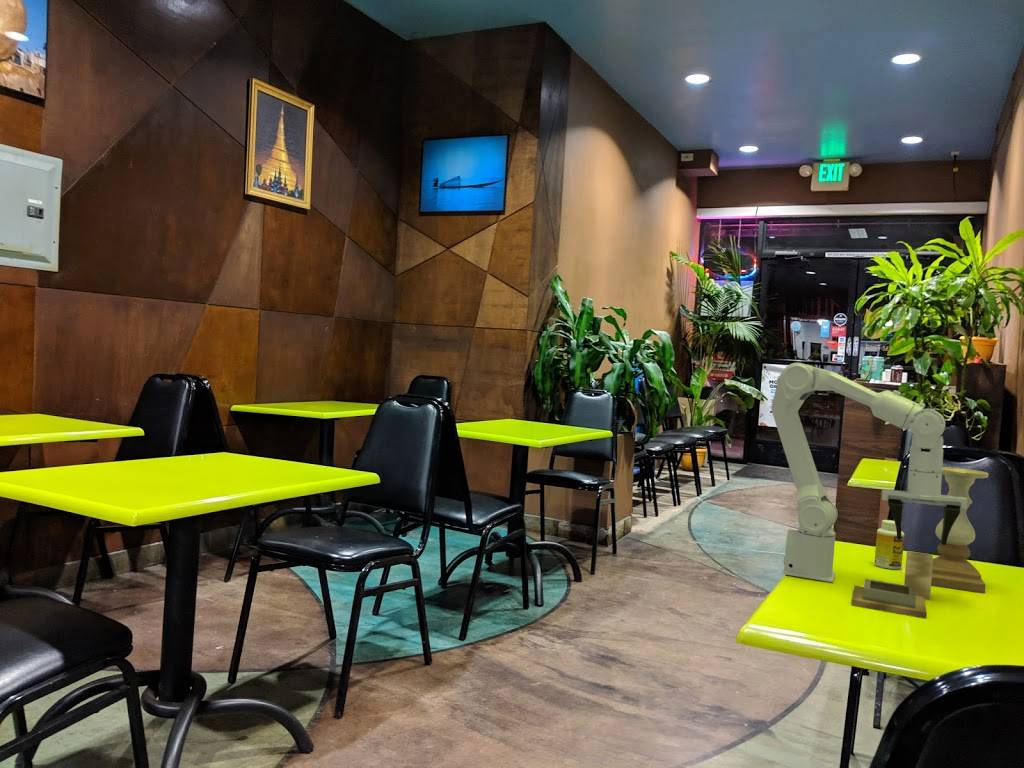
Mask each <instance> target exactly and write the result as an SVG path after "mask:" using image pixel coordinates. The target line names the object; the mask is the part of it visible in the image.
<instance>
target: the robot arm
mask: <svg viewBox="0 0 1024 768" xmlns="http://www.w3.org/2000/svg"><path fill="white" fill-rule="evenodd" d="M815 391H820V392H823V391H824V392H825V391H827V392H828V391H829V392H830V391H833V392H835V393H837V394H840V395H842V396H845V397H847V398H849V399H851V400H853V401H856V402H858V403H861V404H863V405H865V406H868V407H869V408H870V409H871V413H872V415H873V417H875V418H878V419H880V420H882V421H884V422H886V423H889V424H891V425H893V426H894V427H898V428H900V429H902V430H904V431H905V430H910V432H911V433H912V437H911V445H910V447H909V459H908V475H907V476H908V479H907V490H894V489H892V490H891V489H882V491H881V493H882V495H881V500H882V501H887V505H888V508H889V509H890V512H891V515H892V518H893V521H895V525H896V530H897V539H900V540H901V531H902V514H903V503H912V504H921V505H930V506H942V507H943V517H942V519H943V530H942V536H941V540H940V544H942V545H946V542H947V538H948V535H949V532H950V530H951V528H952V526H953V524H954V522H955V520H956V519H957V517H958V516H959V514H960V508H963V509H967V510H968V508H967V498H964V497H956V496H948V495H947V494H942V481H943V480H942V479H943V474H942V467H943V464H944V462H943V461H944V449H943V445H944V436H943V433H944V431H945V429H946V420H945V418H944V416H943V415H942V414H941V413H940V412H939V411H937V410H935V409H933V408H925V407H926V404H925V403H924V402H920V401H919V403H917V402H916V401H913V400H911V399H908V398H906V397H905V396H901V394H902V393H901V392H900V391H898V390H893V391H891V390H883V391H881V392H876V391H874V390H872V389H870V388H868V387H866V386H864V385H861V384H859V383H857V382H856V381H853V380H852V379H849V378H847V377H845V376H843V375H842V374H841V375H840V374H838V373H836V372H834V371H831V370H827V369H825V368H820V367H815V366H813V365H811V364H805V363H804V362H803V363H802V362H793V363H790V364H788V365H787V366H785V368H783V370H782V372H781V373H779V375H778V376H777V379H776V387H775V391H774V395H773V399H772V402H771V407H770V408H771V414H772V416H773V420H774V423H775V426H776V428H777V432H778V435H779V438H780V441H781V444H782V448H783V451H784V454H785V458H786V460H787V464H788V467H789V470H790V472H791V475H792V478H793V482H794V485H795V489H796V502H797V504H798V512H797V520H798V523H799V526H798V528H797V529H796V530H795V529H788V530H787V534H786V539H785V540H786V541H785V553H784V554H785V555H784V557H783V572H782V573H783V575H785V576H786V575H787V576H793V577H798V578H805V579H811V580H817V581H821V582H829V583H834V579H835V576H836V572H834V571H833V569H834V556H835V545H836V544H835V543H836V532H835V530H834V529H833V527H832V526H834V524H835V523H836V522H837V520H838V515H839V513H838V509H837V507H836V505H835V504H834V503H833V502H832V501H831V500H830V498H829V496H828V494H827V491H826V490H825V488H824V486H823V485H822V483H821V480H820V477H819V473H818V470H817V467H816V464H815V461H814V459H813V455H812V452H811V449H810V445H809V442H808V440H807V436H806V433H805V431H804V427H803V424H802V422H801V418H800V415H799V410H800V408H801V407H802V405H803V404H804V402H805V400H807V398H808V397H809V396H811V395H812V394H813V393H815Z"/></svg>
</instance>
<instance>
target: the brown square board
mask: <svg viewBox="0 0 1024 768" xmlns="http://www.w3.org/2000/svg"><path fill="white" fill-rule="evenodd" d="M863 594H864V586H860V585H854V586H853V592H852V596H851V606H854V607H860V608H865V609H871V610H877V611H881V610H882V612H887V611H889V612H888V613H893V612H895V613H894V614H898V613H900V614H899V615H904V614H905V615H906V616H910V615H911V616H910V617H916V618H921V617H922V619H927V616H928V611H927V607H926V602H925V599H924V597H921V596H916V601H915V608H911V607H905V606H899V605H893V604H888V603H882V602H876V601H870V600H864V599H863Z"/></svg>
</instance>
